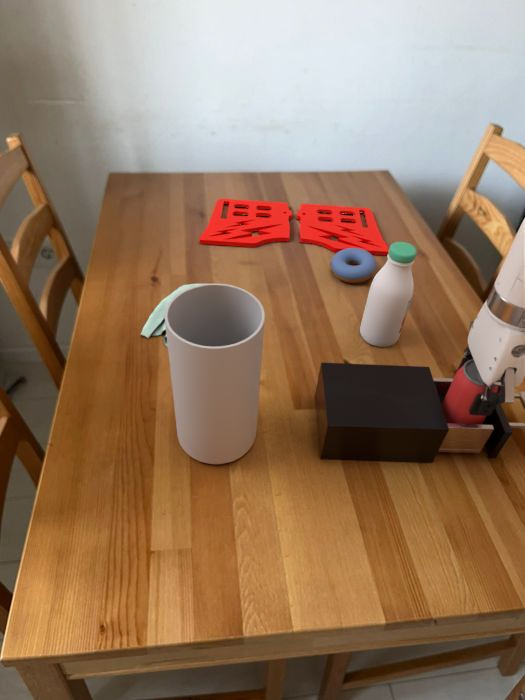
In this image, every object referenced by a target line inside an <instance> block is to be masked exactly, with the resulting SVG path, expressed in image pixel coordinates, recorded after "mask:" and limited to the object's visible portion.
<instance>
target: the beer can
mask: <svg viewBox="0 0 525 700" xmlns="http://www.w3.org/2000/svg"><path fill="white" fill-rule="evenodd" d="M457 370H458V369H457ZM457 370H456V372H455V375H454V377H453V378H454V379H453V381H452V383H451V385H450V388H449V390H448V392H447V394H446V396H445V399H444V401H443V403H442V405H441V406H442V409H443V412H444V415H445V419H446V422H447V423H453V424H481V425H482V423H483V421H484V420H485V418H486V416H481V415H470V413H469V410H470V408H471V406H472V404H473V402H474V400H475V398H476V396H477V395H478V394H481V391H482V387H483V382H484V381H483V380H482V378H481V376H480V374H479V371H478V369H477V366H476V364H475V362H474V359H471V360H469V361H467V362H466V363H465V364H464V365H463V366H462V367H461V368H460V369H459V370H458V371H457ZM500 379H501V378H500ZM497 389H498V385H491V387H490V391H489V392H491V393H497Z"/></svg>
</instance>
